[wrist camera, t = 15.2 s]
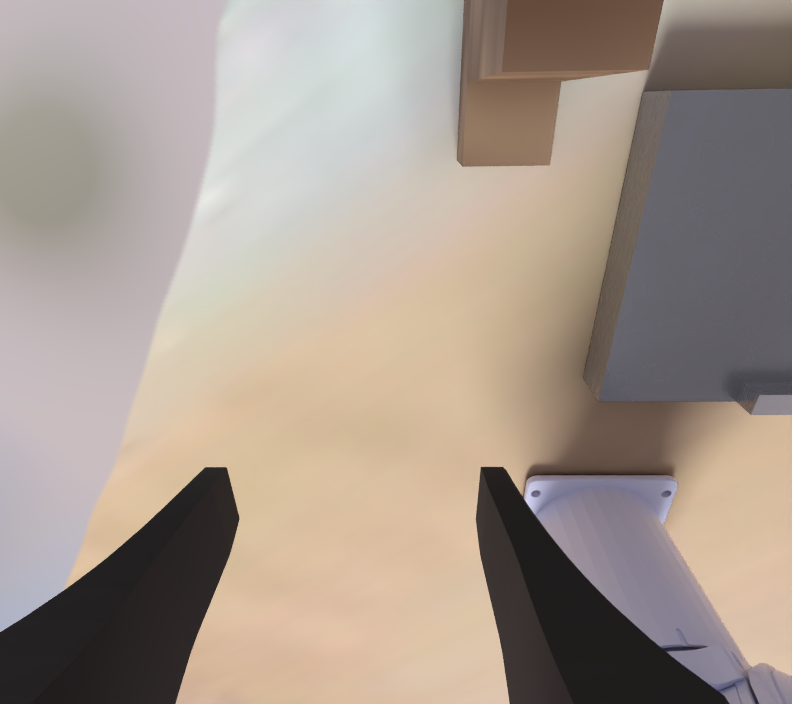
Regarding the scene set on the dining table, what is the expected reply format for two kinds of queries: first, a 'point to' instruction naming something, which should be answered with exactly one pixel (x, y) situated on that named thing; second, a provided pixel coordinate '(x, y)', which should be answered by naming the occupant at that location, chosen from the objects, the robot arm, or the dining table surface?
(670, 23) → the dining table surface
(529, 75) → the tan stepped block
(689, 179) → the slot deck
